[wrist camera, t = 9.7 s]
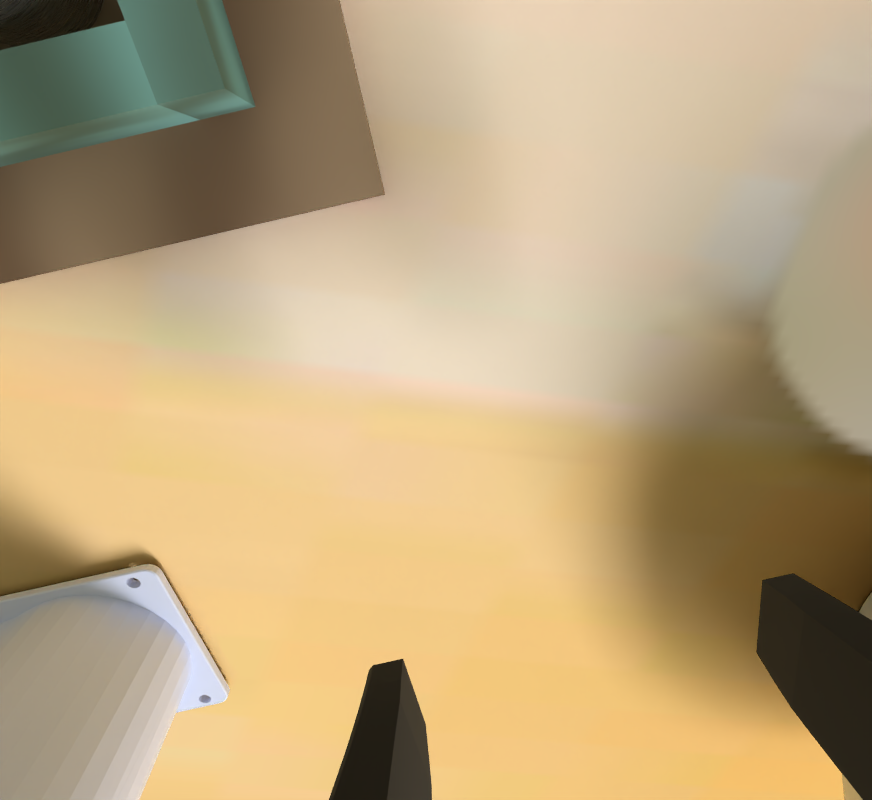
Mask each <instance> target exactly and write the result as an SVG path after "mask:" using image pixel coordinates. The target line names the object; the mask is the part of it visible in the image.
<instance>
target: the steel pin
mask: <svg viewBox="0 0 872 800" xmlns="http://www.w3.org/2000/svg"><path fill="white" fill-rule="evenodd" d="M103 2H104V0H0V43H3V44H6V45H9V46H11V47H16V46H20V45H24V44H28V43H33V42H37V41H41V40H45V39H49V38H54V37H58V36H62V35H66V34H70V33H74V32H79V31H83V30H87V29H91V28H92V27H93V25H94V24H95V22H96V21H97V18H98V16H99V14H100V12H101V9H102V5H103Z"/></svg>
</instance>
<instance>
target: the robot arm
mask: <svg viewBox="0 0 872 800" xmlns="http://www.w3.org/2000/svg"><path fill="white" fill-rule="evenodd" d="M133 578H136V579H138V580H139V581H137V580H134V579H133ZM757 654H758V656H759V657H760V659H761V661H762V662H763V664H764V665H765V667H766V669H767V670H768V672H769V674H770V675H771V677H772V678H773V680H774V682H775V683H776V685H777V686H778V688H779V689H780V691H781V693H782V694H783V696H784V697H785V699H786V700H787V702H788V703H789V705H790V706H791V708H792V709H793V711H794V712H795V713H796V715H797V716H798V717H799V719H800V720H801V721H802V722H803V724H804V725H805V726H806V728H807V729H808V730H809V732H810V733H811V734H812V735H813V737H814V738H815V739H816V741H817V742H818V743H819V744H820V746H821V747H822V748H823V750H824V751H825V752H826V754H827V755H828V756H829V757H830V759H831V760H832V761H833V762H834V764H835V765H836V766H837V768H838V769H839V770H840V771H841V773H842V774H843V775H844V777H845V778H846V779H847V780H848V782H849V783H850V784H851V785H852V787H853V788H854V789H855V791H856V792H857V793H858V794H859V796H860V797H861V798H862V800H872V620H871V619H869V618H867V617H866V616H864V615H862V614H861V613H859V612H857V611H856V610H854V609H852V608H851V607H849V606H847V605H846V604H844V603H842V602H841V601H839V600H837V599H836V598H834V597H832V596H831V595H829V594H827V593H826V592H824V591H822V590H821V589H819V588H817V587H816V586H814V585H812V584H811V583H809V582H807V581H805V580H804V579H802V578H800V577H799V576H797V575H795V574H789V575H784V576H779V577H775V578H770V579H766V580H762V592H761V604H760V616H759V628H758V640H757ZM229 691H230V689H229V686H228V684H227V683H226V681H225V679H224V677H223V676H222V674H221V672H220V671H219V669H218V667H217V665H216V664H215V662H214V660H213V658H212V657H211V655H210V653H209V651H208V650H207V648H206V646H205V645H204V643H203V641H202V639H201V638H200V636H199V634H198V632H197V631H196V629H195V627H194V625H193V624H192V622H191V620H190V619H189V617H188V615H187V613H186V612H185V610H184V608H183V606H182V605H181V603H180V601H179V599H178V598H177V596H176V594H175V593H174V591H173V589H172V587H171V586H170V584H169V582H168V580H167V579H166V577H165V575H164V573H163V572H162V570H161V569H160V568H159V567H157V566H155V565H152V564H143V565H139V566H135V567H130V568H126V569H121V570H117V571H112V572H108V573H103V574H99V575H94V576H90V577H85V578H81V579H76V580H72V581H67V582H63V583H58V584H54V585H49V586H45V587H40V588H36V589H31V590H27V591H22V592H18V593H13V594H9V595H5V596H0V800H139V799H140V797H141V794H142V792H143V790H144V787H145V785H146V782H147V780H148V778H149V775H150V773H151V771H152V768H153V766H154V763H155V761H156V759H157V756H158V754H159V751H160V749H161V747H162V744H163V742H164V740H165V737H166V735H167V732H168V730H169V728H170V725H171V723H172V721H173V718H174V716H175V713H176V712H181V711H186V710H190V709H195V708H199V707H204V706H208V705H213V704H218V703H221V702H224V701H225V700H226V699H227V697H228V694H229ZM329 800H432V786H431V775H430V764H429V754H428V744H427V734H426V724H425V721H424V718H423V715H422V713H421V710H420V707H419V704H418V701H417V698H416V695H415V692H414V689H413V686H412V684H411V681H410V678H409V675H408V672H407V669H406V666H405V663H404V660H403V659H400V660H395V661H391V662H386V663H382V664H377V665H373V666H372V667H371V669H370V670H369V672H368V676H367V681H366V685H365V688H364V692H363V696H362V699H361V703H360V707H359V710H358V714H357V717H356V720H355V724H354V727H353V730H352V733H351V736H350V740H349V743H348V746H347V749H346V752H345V755H344V758H343V761H342V764H341V766H340V769H339V772H338V775H337V778H336V781H335V784H334V787H333V790H332V793H331V795H330V798H329Z"/></svg>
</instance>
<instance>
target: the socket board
mask: <svg viewBox="0 0 872 800" xmlns="http://www.w3.org/2000/svg"><path fill="white" fill-rule="evenodd" d="M384 194H385V193H384V189H383V184H382V180H381V176H380V171H379V167H378V163H377V159H376V154H375V150H374V146H373V142H372V137H371V133H370V129H369V125H368V120H367V116H366V112H365V108H364V103H363V99H362V95H361V91H360V86H359V82H358V78H357V74H356V69H355V65H354V61H353V57H352V52H351V48H350V44H349V40H348V35H347V31H346V27H345V23H344V18H343V14H342V10H341V5H340V1H339V0H104V2H103V5H102V9H101V12H100V14H99V16H98V18H97V21H96V22H95V24H94V25H93V27H92V28H91V29H87V30H83V31H79V32H74V33H70V34H66V35H62V36H58V37H54V38H49V39H45V40H41V41H37V42H33V43H28V44H24V45H20V46H16V47H11V46H9V45H6V44H3V43H0V284H1V283H6V282H10V281H14V280H19V279H23V278H27V277H31V276H36V275H40V274H44V273H49V272H53V271H57V270H62V269H66V268H70V267H74V266H79V265H83V264H87V263H92V262H96V261H100V260H105V259H109V258H113V257H118V256H122V255H126V254H130V253H135V252H139V251H143V250H148V249H152V248H156V247H161V246H165V245H169V244H173V243H178V242H182V241H186V240H191V239H195V238H199V237H204V236H208V235H212V234H217V233H221V232H225V231H229V230H234V229H238V228H242V227H247V226H251V225H255V224H260V223H264V222H268V221H273V220H277V219H281V218H285V217H290V216H294V215H298V214H303V213H307V212H311V211H316V210H320V209H324V208H328V207H333V206H337V205H341V204H346V203H350V202H354V201H359V200H363V199H367V198H372V197H376V196H380V195H384Z"/></svg>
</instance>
